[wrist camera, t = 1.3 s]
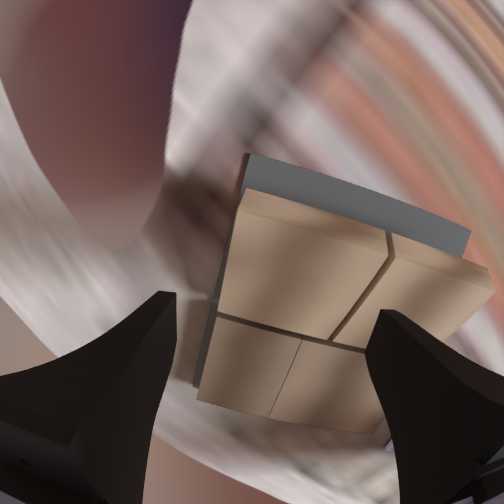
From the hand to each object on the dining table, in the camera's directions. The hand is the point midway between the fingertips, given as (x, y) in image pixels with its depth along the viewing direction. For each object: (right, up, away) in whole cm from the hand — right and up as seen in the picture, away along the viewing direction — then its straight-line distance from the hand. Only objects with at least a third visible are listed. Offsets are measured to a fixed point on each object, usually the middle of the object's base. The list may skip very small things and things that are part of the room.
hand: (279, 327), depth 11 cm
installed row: (+3, -6, +12) cm, 14 cm away
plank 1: (+1, +2, +7) cm, 8 cm away
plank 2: (+9, 0, +7) cm, 11 cm away
